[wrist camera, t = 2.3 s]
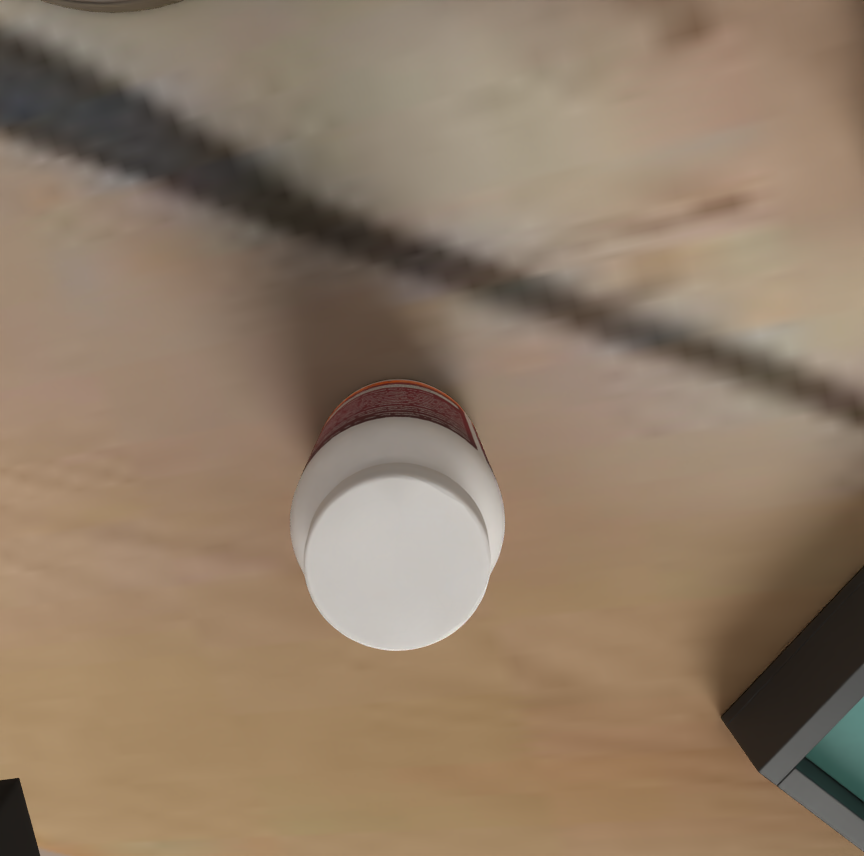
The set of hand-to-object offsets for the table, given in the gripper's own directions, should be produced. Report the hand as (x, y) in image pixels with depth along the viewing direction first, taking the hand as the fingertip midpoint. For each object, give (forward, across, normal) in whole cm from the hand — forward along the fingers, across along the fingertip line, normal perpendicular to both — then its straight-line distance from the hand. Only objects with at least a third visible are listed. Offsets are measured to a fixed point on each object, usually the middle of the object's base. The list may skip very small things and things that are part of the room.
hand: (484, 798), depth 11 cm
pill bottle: (+19, -1, 0) cm, 19 cm away
